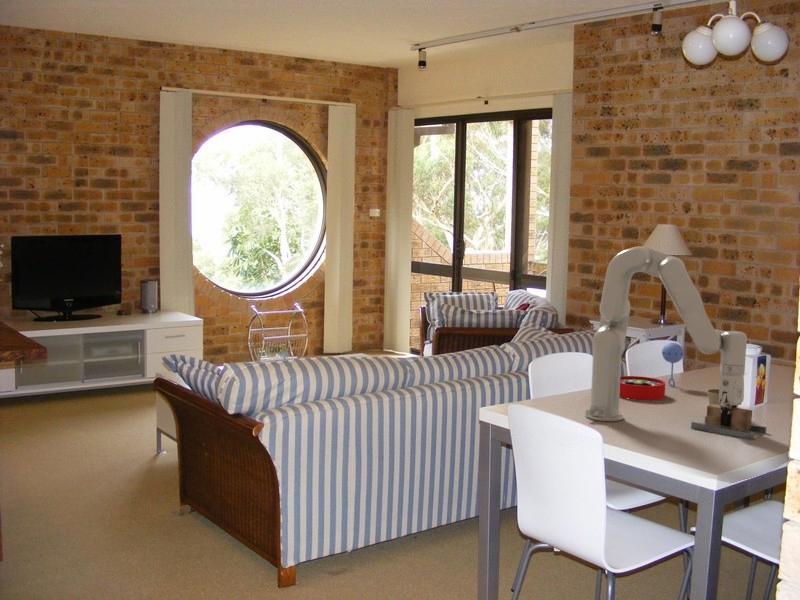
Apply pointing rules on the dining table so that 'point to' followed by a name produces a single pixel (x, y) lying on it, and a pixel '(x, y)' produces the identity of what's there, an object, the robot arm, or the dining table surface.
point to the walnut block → (738, 417)
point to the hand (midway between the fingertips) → (728, 423)
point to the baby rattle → (672, 356)
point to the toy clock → (642, 388)
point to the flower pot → (713, 396)
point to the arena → (731, 430)
